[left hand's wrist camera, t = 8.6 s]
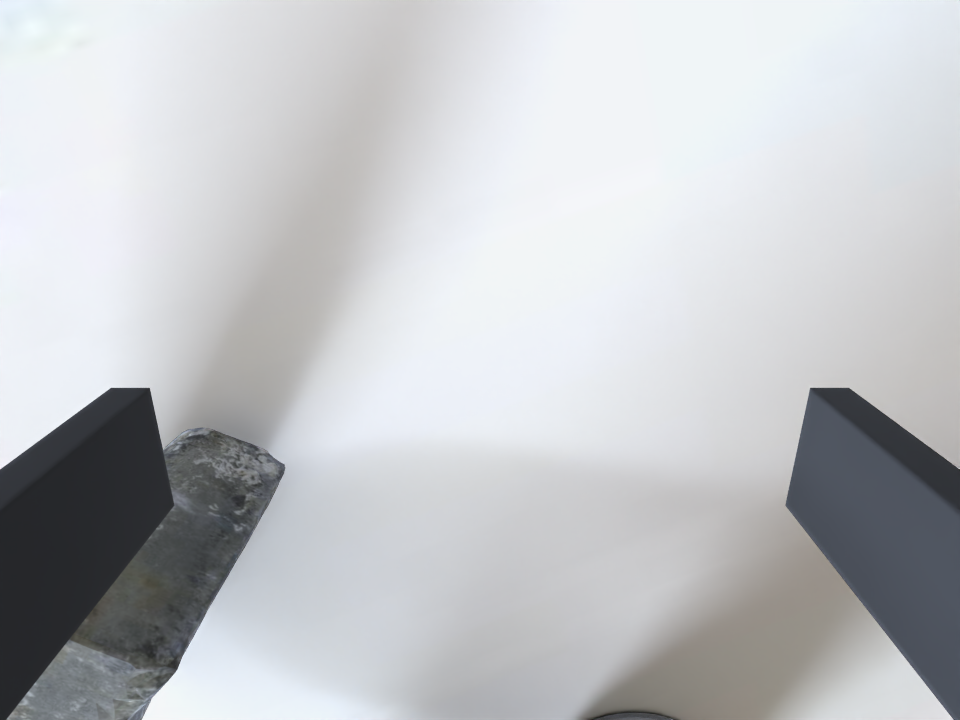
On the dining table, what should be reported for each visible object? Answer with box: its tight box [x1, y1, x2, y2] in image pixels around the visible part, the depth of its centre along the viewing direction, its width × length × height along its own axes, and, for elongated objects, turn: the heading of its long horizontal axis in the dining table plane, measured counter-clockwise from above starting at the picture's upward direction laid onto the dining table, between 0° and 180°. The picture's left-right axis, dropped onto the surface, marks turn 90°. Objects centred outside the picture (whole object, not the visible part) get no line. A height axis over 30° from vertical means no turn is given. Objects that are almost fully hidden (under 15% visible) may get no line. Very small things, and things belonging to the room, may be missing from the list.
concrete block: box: [6, 428, 285, 720], centre depth 38 cm, size 27×9×20 cm, turn 147°
